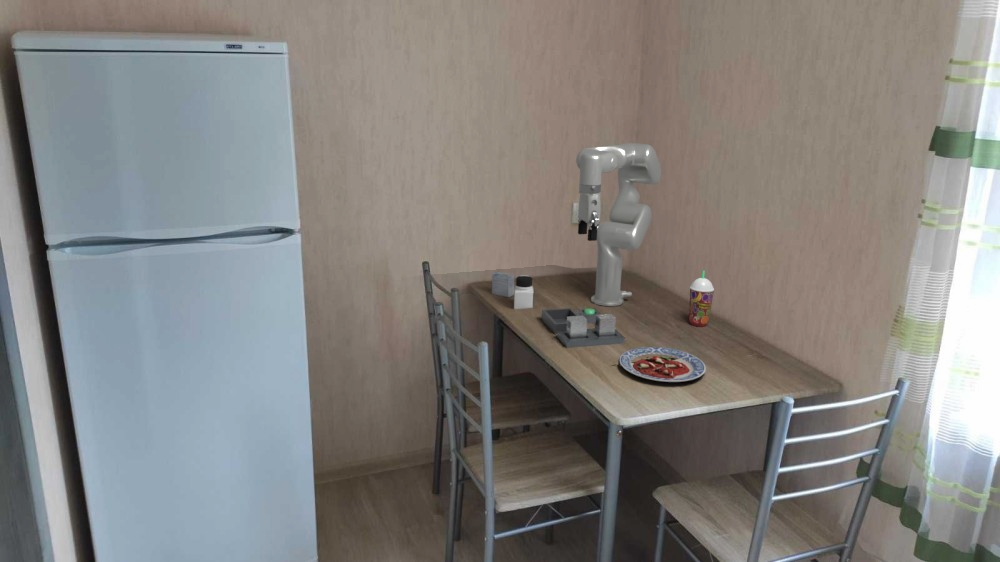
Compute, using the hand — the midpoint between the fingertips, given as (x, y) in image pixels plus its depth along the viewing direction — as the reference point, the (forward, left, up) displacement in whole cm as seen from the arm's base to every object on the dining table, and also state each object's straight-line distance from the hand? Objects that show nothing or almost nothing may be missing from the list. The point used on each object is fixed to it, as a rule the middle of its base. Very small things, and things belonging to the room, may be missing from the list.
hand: (587, 237), depth 254 cm
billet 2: (+1, +24, -29) cm, 38 cm away
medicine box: (+22, -32, -31) cm, 49 cm away
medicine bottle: (+18, -16, -31) cm, 39 cm away
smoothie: (-39, +14, -31) cm, 51 cm away
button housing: (0, +5, -30) cm, 31 cm away
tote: (+10, +9, -30) cm, 33 cm away
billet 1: (+11, +23, -29) cm, 39 cm away
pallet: (+6, +24, -30) cm, 39 cm away
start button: (0, +5, -29) cm, 29 cm away
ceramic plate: (-8, +48, -31) cm, 58 cm away
